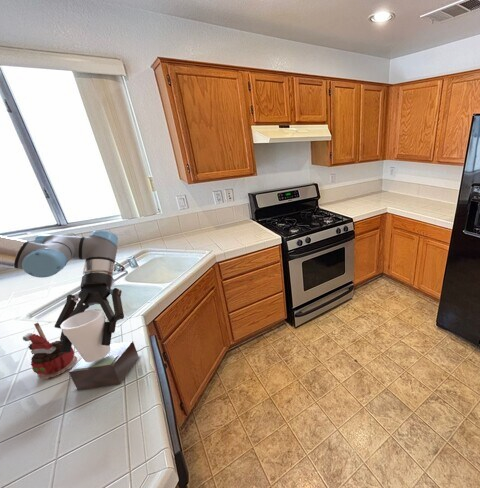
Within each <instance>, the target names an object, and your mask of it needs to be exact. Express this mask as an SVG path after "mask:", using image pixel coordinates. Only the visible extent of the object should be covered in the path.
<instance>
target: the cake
mask: <svg viewBox="0 0 480 488" xmlns="http://www.w3.org/2000/svg"><path fill="white" fill-rule="evenodd" d="M33 325H34V327H35V329H36V332H37V333H38V334H36V333H33V332H29V333H26V334H25V335H24V336H22V340H23V341H24V342H29V341H30V342H31V343H29V346H28V349H29V350H30V353H31V355H32V356H31V359H30V360H31V362H30V365H31V367H32V368H31V369H32V371H33V373H35V374H37V375H36V377H37V378H39V380H44V379H45V380H46V379H49V378H53V377H56V376H59V375H60V374H63V373H64V372H65V371H68V370H71V369H72V368H73V367H74V366H75V365H76V364H77V361H78V357H77V356H75V351H74V349H73V347H71V352H70V353H63V352H60V350H61V345H62V341H60V340H55V341H52V342H50V341H48V339H47V337H46V335H45V333H44V331H43V329H42V327H41V325H40V323H39V322H35V323H33Z"/></svg>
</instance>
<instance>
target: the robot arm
mask: <svg viewBox="0 0 480 488" xmlns="http://www.w3.org/2000/svg"><path fill="white" fill-rule="evenodd" d="M118 240H119V238H118V236H117V235H116V234H115V233H114V232H113V231H109V230H103V229H101V230H94V231H92V232H91V233H90V235H89V236H78V235H77V236H74V235H62V234H54V233H52V234H43V233H42V234H38V235H36V236H35V238H34V240H33V241H29V240H28V241H27V240H24V239H20V238H19V239H18V238H13V237H8V236H3V235H0V267H6V268H10V269H17V270H23V271H24V273H26V274H27V275H29V276H31V277H33V278H41V279H42V278H44V279H45V278H50V277H53V276H55V275H56V274H58V273H59V272H61V271H62V270H63V269H64V268H65V267H66V266H67V264H68V262H69V261H70V260H81V261H83V260H84V264H83V265H84V266H83V271H82V277H81V281H80V291H79V292H78V293H76V294H68V295H67V296H66V301H65V304H64V306H63V308H62V310H61V312H60V313H59V316H58V318H57V320H56V322H55V324H54V326H53V327H54V328H56V329H60V330H61V331H60V332H61V333H60V337H59V341H62V345H61V350H60V352H63V353H70V352H71V347H72V346H73V344H72V343H71V342H70V340H69V339H68V338H67V336H65V335H64V333H63V331H62V329H61V327H60V325H61V324H62V322H64V321H65V320H67V319H68V318H70V317H72V316H74V315H76V314H78V313H82V312H85V311H87V309H89V307H90V306H94V305H100V307H101V310H102V311H103V313H104V316H105V318H106V321H105V324H104V331H103V338H102V345H106V346H109V345H110V344H112V343H111V341H112V335H113V334H115V332H116V326H117V322H118V321H120V320H124V318H125V315H124V314H125V313H124V308H123V304H122V303H123V302H122V297H121V296H122V290H121V289H119V288H117V287H114V288H113V289H112V286H113V279H114V278H113V276H114V270H115V266H116V265H115V264H116V257H117V251H118V243H119V241H118ZM110 295H111V299H112V300H111V301H112V306H113V309H112V306H111V305H110V302H109V299H108V298H109V297H110ZM72 348H73V347H72Z"/></svg>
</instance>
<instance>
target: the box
mask: <svg viewBox="0 0 480 488" xmlns="http://www.w3.org/2000/svg"><path fill="white" fill-rule="evenodd" d="M110 347H111V348H110V349H111V350H110V352H109V353H108V354H107V355H106V356H105V357H103V358H102V359H99V360H97V361H94V362H85V360H84V359H83V358H82V357H81V359H80V360H79V361H78V362H76V364H74V365H73V366H72V367H71V368H70V369H69V371H68V374H69V376H70V378H71V380H72V382H73V385H74V386H75V389H76V391H81V390H87V389H94V388H101V387H106V386H107V387H108V386H114V385H121V384H122V382H123V381H124V380H125V378H126V377H127V375H128V374H129V372H130V371H131V369H132V368H133V367H134V366H135V364H136V363H137V361H138V360H139V358H140V356H139V353H138V350H137V349H136V345H135V343H134V341H133V340H131V341H123V342H116V343H110Z"/></svg>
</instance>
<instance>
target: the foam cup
mask: <svg viewBox="0 0 480 488" xmlns="http://www.w3.org/2000/svg"><path fill="white" fill-rule="evenodd" d="M106 320H107V317H106V315H105V313H104V311H103V309H97V308H96V309H89V310H85V311H84V312H82V313H78V314H76V315H74V316H72V317H70V318H68V319H67V320H65V321H64V322H62V324H61V325H60V327H61V329H60V330H61V332H62V331H63V333H64V335H65V336H67V338H68V339H69V340H70V342H71V343H72V346H73V347H74V348H75V350H76V351H77V353H78V354H79V355H80V357H81V359H82V358H83V359H84V360H85V362H94V361H97V360H99V359H102V358H103V357H105V356H106V355H107V354H108V353H109V352H110V350H111V349H110V348H111V347H110V345H109V346H106V345H102V338H103V331H104V324H105V322H106Z"/></svg>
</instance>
